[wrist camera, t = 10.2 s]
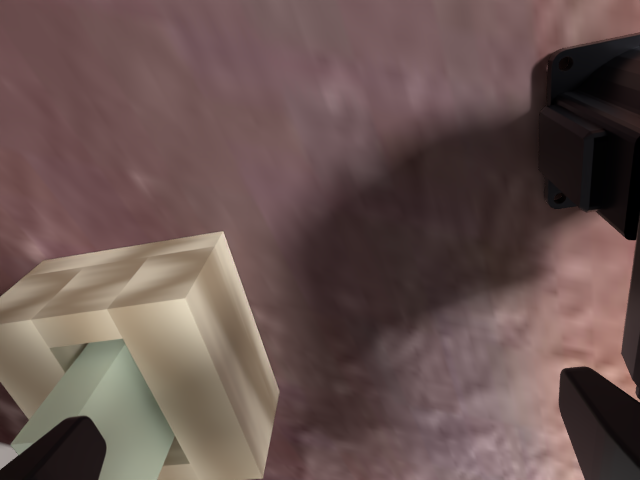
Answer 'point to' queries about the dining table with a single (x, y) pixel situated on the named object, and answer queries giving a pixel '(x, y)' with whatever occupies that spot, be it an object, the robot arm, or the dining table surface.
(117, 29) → the dining table surface
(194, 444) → the hollow square frame
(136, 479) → the green rectangular block
